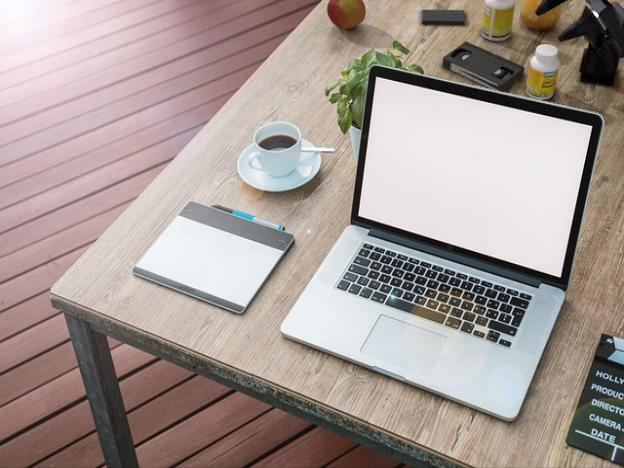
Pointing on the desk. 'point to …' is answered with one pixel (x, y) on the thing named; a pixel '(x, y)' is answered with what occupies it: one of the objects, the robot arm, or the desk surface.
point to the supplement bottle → (543, 72)
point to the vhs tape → (483, 66)
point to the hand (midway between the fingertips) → (547, 26)
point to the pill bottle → (497, 19)
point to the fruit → (536, 21)
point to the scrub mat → (443, 17)
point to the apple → (346, 13)
